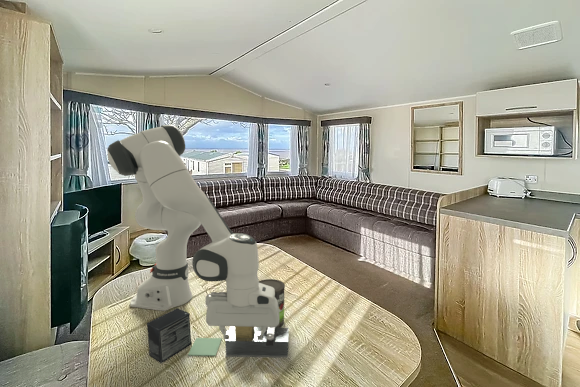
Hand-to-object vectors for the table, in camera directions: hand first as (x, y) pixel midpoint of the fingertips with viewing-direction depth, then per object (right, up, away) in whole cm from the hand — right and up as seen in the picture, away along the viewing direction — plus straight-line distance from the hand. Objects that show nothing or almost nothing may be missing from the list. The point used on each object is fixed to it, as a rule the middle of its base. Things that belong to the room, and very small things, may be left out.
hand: (243, 338), depth 88 cm
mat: (-12, -6, +6) cm, 15 cm away
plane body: (+4, -6, +6) cm, 9 cm away
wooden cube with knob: (0, -1, +5) cm, 6 cm away
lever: (+8, -1, +2) cm, 8 cm away
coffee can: (+6, -4, +19) cm, 20 cm away
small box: (-22, -6, +5) cm, 24 cm away
